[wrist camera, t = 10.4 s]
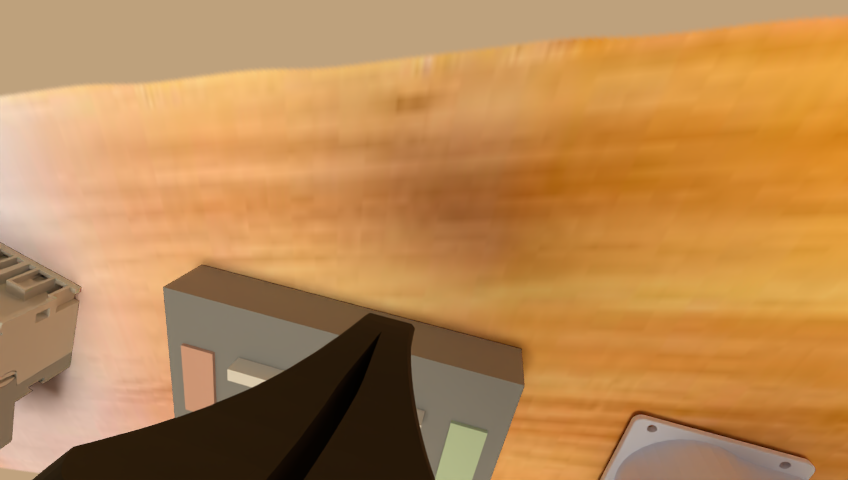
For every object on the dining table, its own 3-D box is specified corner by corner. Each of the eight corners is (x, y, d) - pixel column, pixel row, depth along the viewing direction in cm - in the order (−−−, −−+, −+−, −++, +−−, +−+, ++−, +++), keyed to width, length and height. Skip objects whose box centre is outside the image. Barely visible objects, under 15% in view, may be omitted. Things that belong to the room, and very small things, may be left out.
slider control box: (521, 348, 22) (525, 400, 18) (473, 488, 27) (469, 552, 23) (201, 264, 24) (148, 295, 20) (208, 408, 29) (165, 454, 25)
